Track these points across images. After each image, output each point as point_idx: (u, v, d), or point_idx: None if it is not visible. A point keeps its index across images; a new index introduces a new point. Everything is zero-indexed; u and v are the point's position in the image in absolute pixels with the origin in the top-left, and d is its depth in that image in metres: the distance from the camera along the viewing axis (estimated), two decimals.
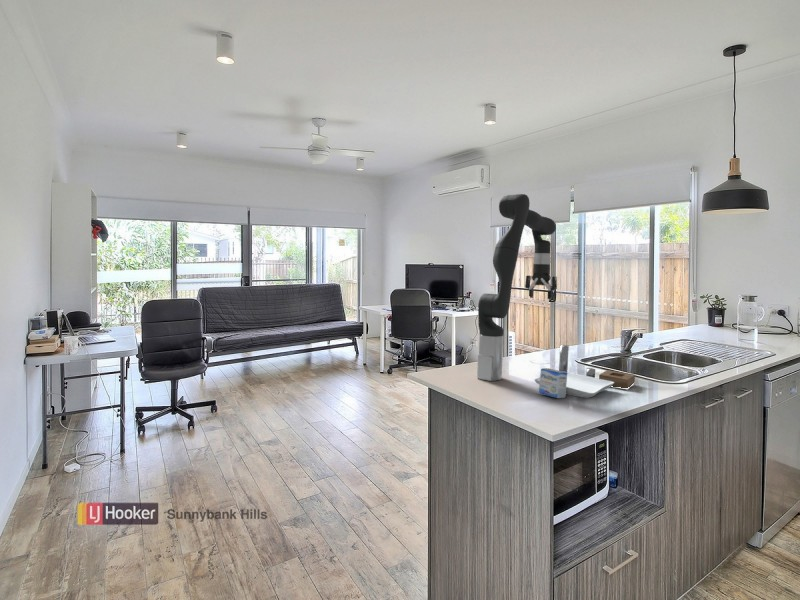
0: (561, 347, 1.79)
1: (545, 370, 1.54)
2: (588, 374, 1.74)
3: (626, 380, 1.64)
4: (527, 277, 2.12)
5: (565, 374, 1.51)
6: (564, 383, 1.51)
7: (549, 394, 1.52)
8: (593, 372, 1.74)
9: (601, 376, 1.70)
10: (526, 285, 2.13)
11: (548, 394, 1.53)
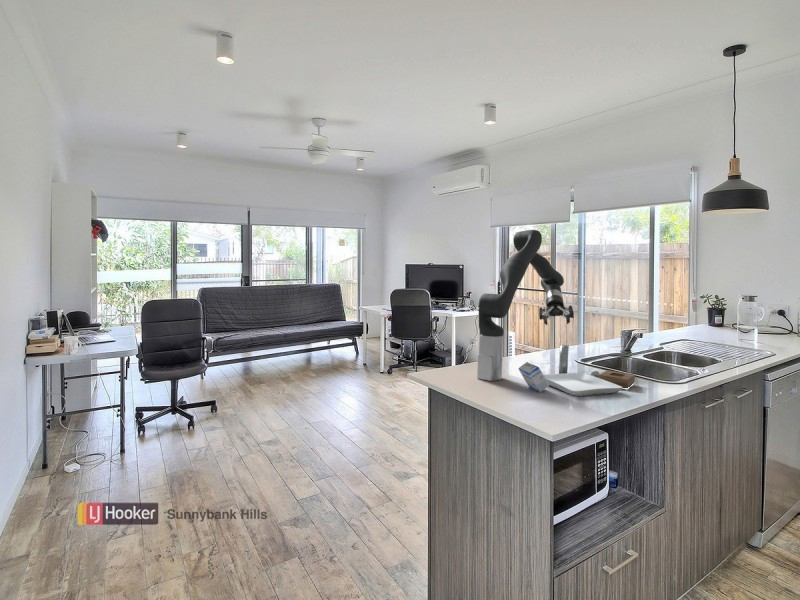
0: (561, 347, 1.79)
1: (521, 370, 1.63)
2: (593, 371, 1.79)
3: (626, 380, 1.64)
4: (540, 308, 2.02)
5: (537, 369, 1.58)
6: (540, 376, 1.58)
7: None
8: (598, 373, 1.79)
9: (601, 376, 1.70)
10: (540, 313, 1.99)
11: (534, 388, 1.62)
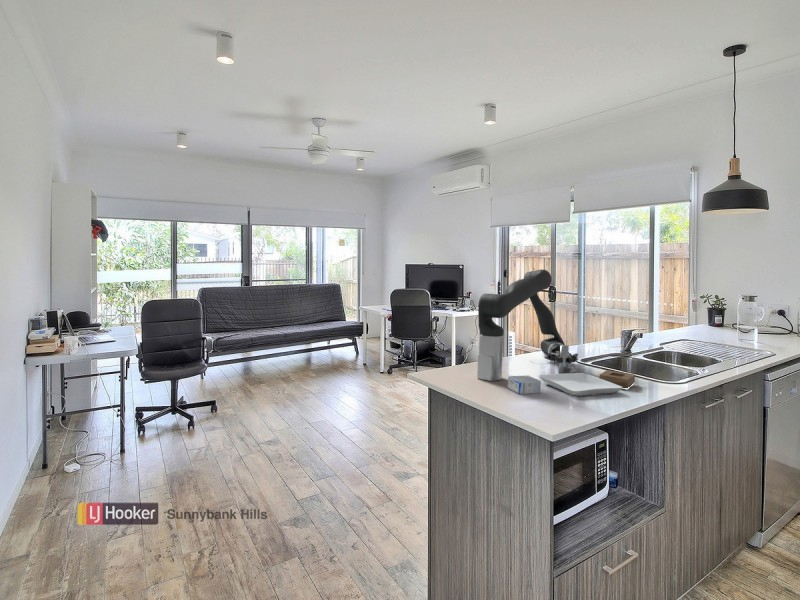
0: (561, 347, 1.79)
1: (511, 389, 1.62)
2: (571, 367, 1.85)
3: (626, 380, 1.64)
4: (546, 352, 1.87)
5: (520, 385, 1.57)
6: (528, 384, 1.57)
7: None
8: (575, 370, 1.85)
9: (601, 376, 1.70)
10: (552, 354, 1.83)
11: None
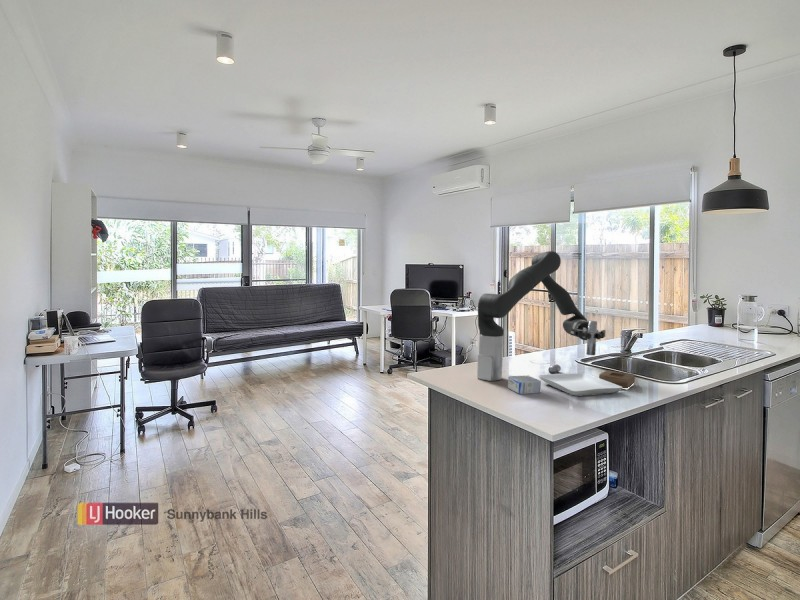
0: (589, 323, 1.74)
1: (511, 389, 1.62)
2: (558, 370, 1.88)
3: (626, 380, 1.64)
4: (573, 329, 1.82)
5: (520, 385, 1.57)
6: (528, 384, 1.57)
7: None
8: None
9: (601, 376, 1.70)
10: (579, 330, 1.78)
11: None
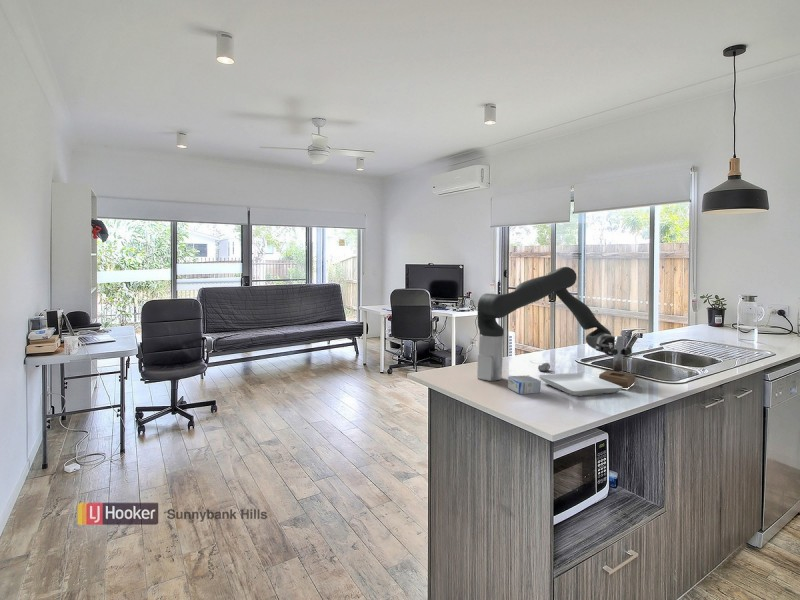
0: (616, 338, 1.69)
1: (511, 389, 1.62)
2: None
3: (626, 380, 1.64)
4: (598, 344, 1.77)
5: (520, 385, 1.57)
6: (528, 384, 1.57)
7: None
8: (546, 363, 1.93)
9: (601, 376, 1.70)
10: (605, 346, 1.74)
11: None
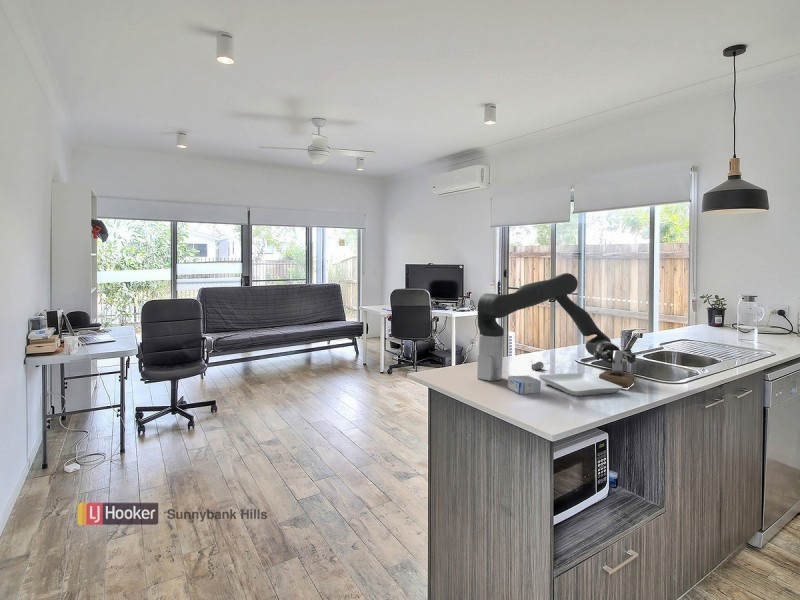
0: (614, 352, 1.70)
1: (511, 389, 1.62)
2: None
3: (626, 380, 1.64)
4: (596, 351, 1.79)
5: (520, 385, 1.57)
6: (528, 384, 1.57)
7: None
8: None
9: (601, 376, 1.70)
10: (597, 352, 1.75)
11: None
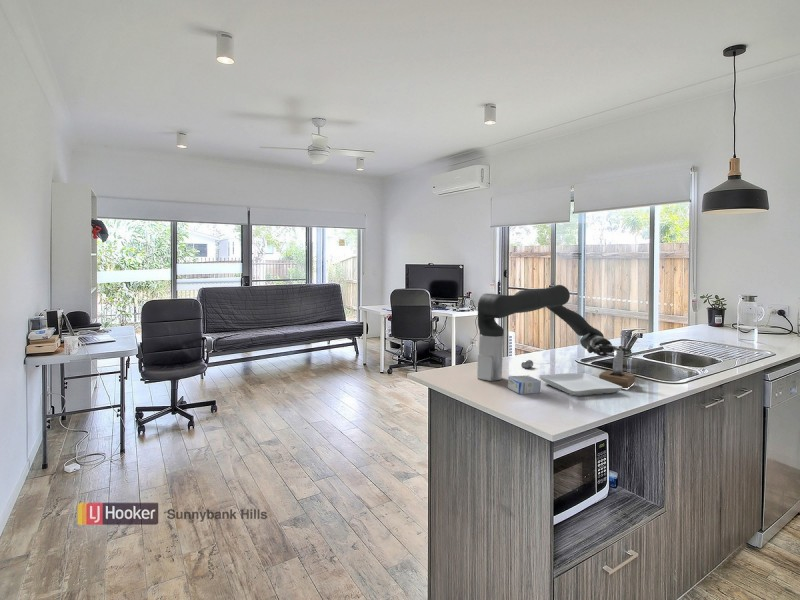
0: (615, 352, 1.70)
1: (511, 389, 1.62)
2: (529, 361, 1.97)
3: (626, 380, 1.64)
4: (589, 345, 1.91)
5: (520, 385, 1.57)
6: (528, 384, 1.57)
7: None
8: (532, 364, 1.97)
9: (601, 376, 1.70)
10: (590, 346, 1.88)
11: None
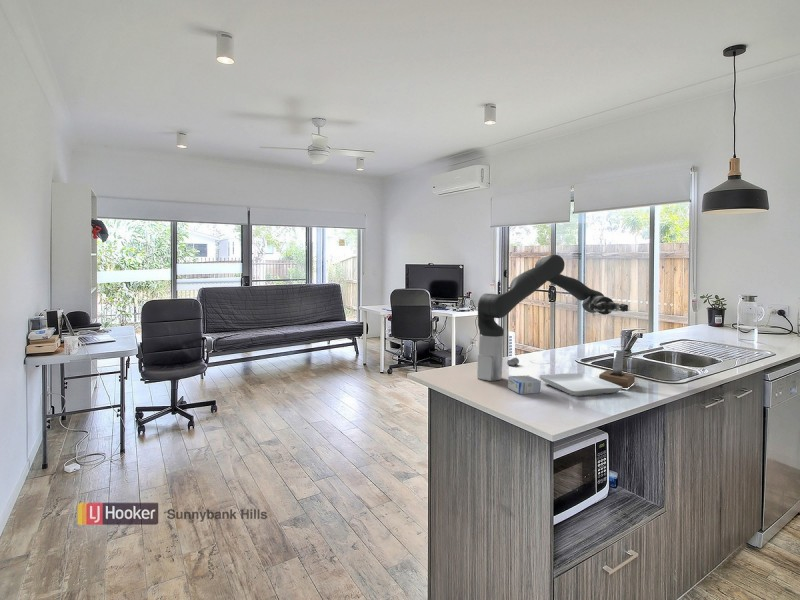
0: (615, 352, 1.70)
1: (511, 389, 1.62)
2: (516, 364, 2.01)
3: (626, 380, 1.64)
4: None
5: (520, 385, 1.57)
6: (528, 384, 1.57)
7: None
8: None
9: (601, 376, 1.70)
10: (592, 303, 1.86)
11: None
